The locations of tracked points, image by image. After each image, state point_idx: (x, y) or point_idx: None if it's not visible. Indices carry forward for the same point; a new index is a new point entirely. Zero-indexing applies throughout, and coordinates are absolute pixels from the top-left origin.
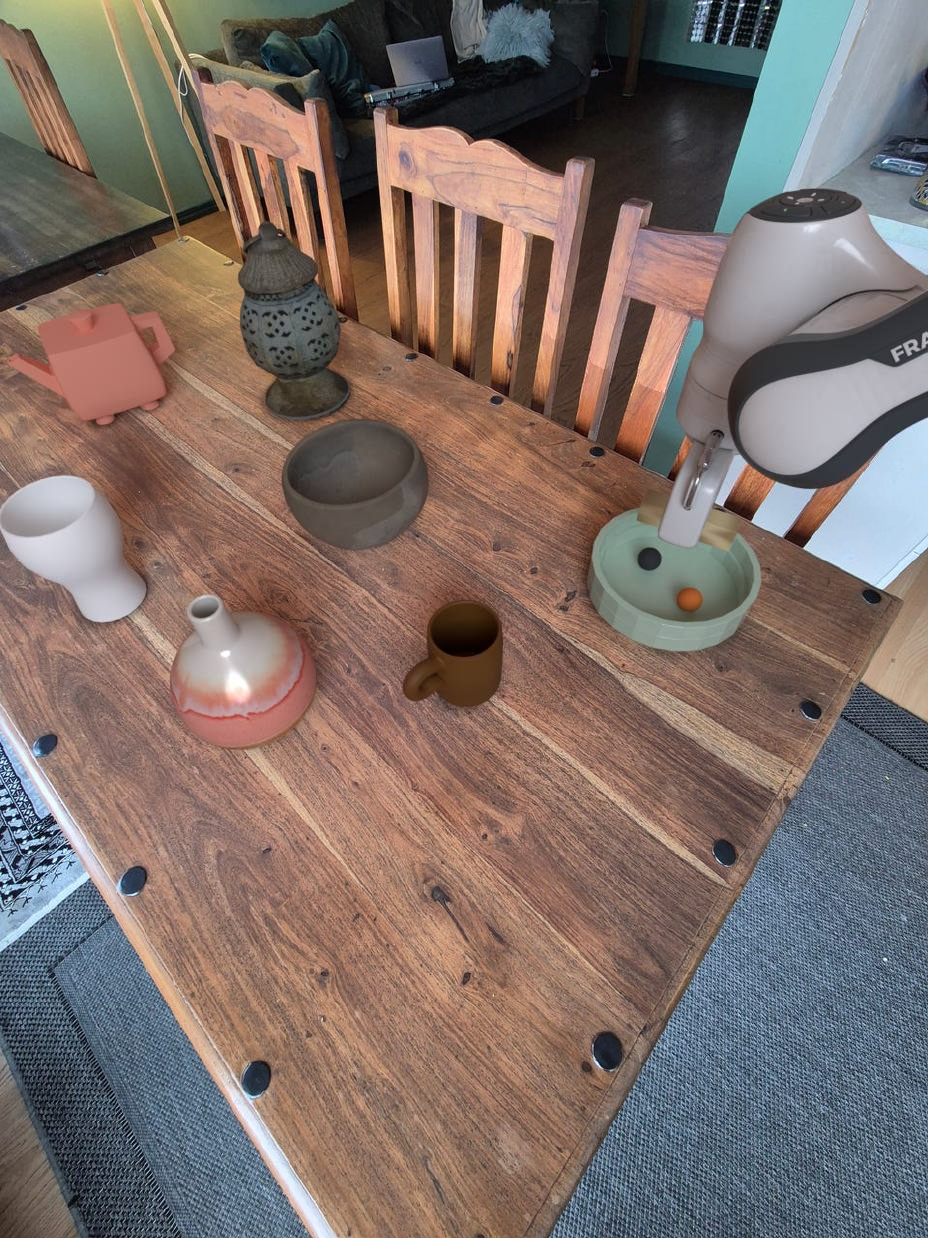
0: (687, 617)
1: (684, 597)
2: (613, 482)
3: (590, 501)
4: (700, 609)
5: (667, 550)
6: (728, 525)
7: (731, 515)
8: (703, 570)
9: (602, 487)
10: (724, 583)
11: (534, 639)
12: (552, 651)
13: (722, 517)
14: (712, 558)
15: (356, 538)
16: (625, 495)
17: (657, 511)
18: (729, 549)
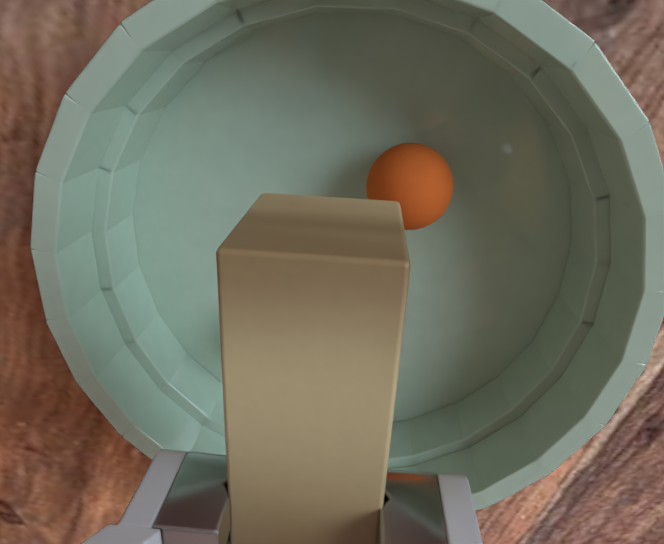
0: (449, 164)
1: (435, 215)
2: (25, 451)
3: (126, 482)
4: (398, 131)
5: (199, 281)
6: (354, 334)
7: (230, 329)
8: (225, 160)
9: (60, 469)
10: (249, 79)
11: (631, 488)
12: (660, 447)
13: (286, 382)
14: (157, 143)
15: None
16: (51, 417)
17: None
18: (398, 205)
